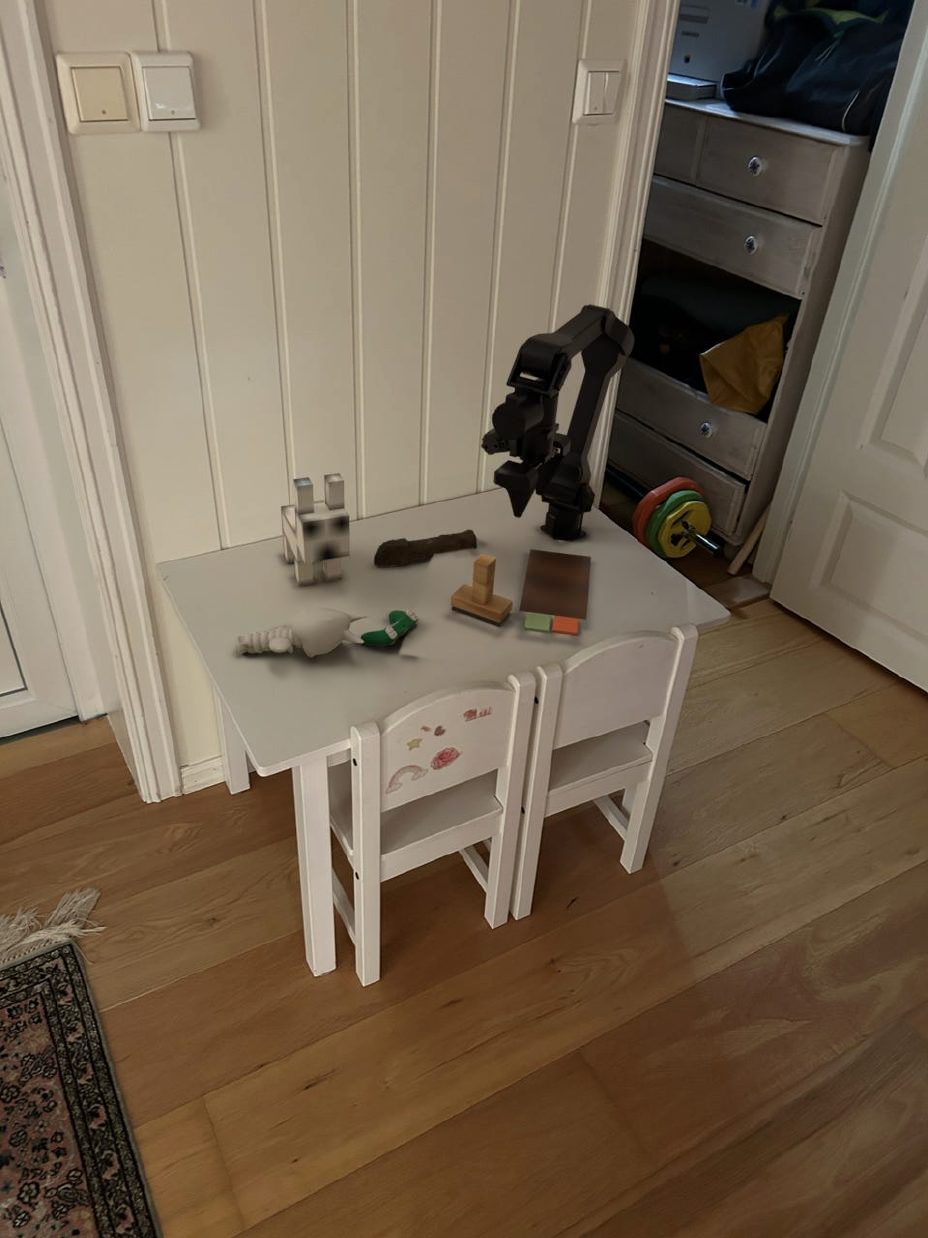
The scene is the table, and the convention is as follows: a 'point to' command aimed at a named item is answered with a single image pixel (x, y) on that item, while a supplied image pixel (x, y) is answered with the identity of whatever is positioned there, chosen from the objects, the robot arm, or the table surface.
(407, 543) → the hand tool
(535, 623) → the clay sage
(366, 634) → the green stocking
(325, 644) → the toy creature
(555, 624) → the clay terracotta
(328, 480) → the white blocky toy rabbit
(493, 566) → the brush
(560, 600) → the board
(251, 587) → the table surface
